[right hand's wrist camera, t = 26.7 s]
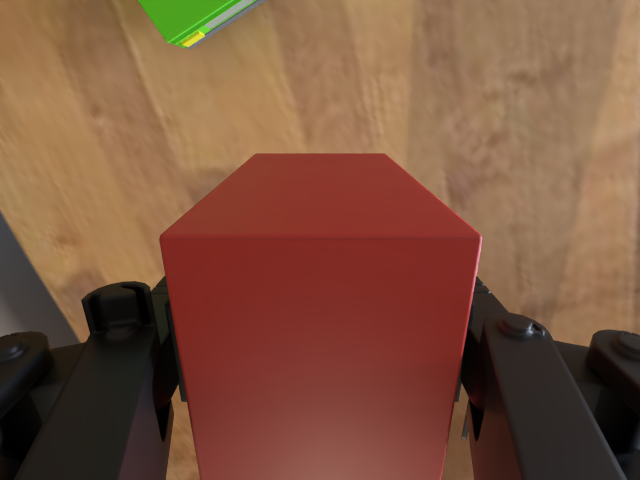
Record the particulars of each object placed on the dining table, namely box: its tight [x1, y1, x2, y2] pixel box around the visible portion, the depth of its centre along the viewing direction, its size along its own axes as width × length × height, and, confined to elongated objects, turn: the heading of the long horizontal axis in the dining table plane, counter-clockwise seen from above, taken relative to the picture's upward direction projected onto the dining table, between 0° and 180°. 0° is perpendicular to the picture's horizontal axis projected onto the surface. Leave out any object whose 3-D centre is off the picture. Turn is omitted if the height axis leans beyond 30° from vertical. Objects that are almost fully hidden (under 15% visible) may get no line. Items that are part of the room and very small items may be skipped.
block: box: [159, 154, 482, 480], centre depth 11 cm, size 5×7×9 cm
